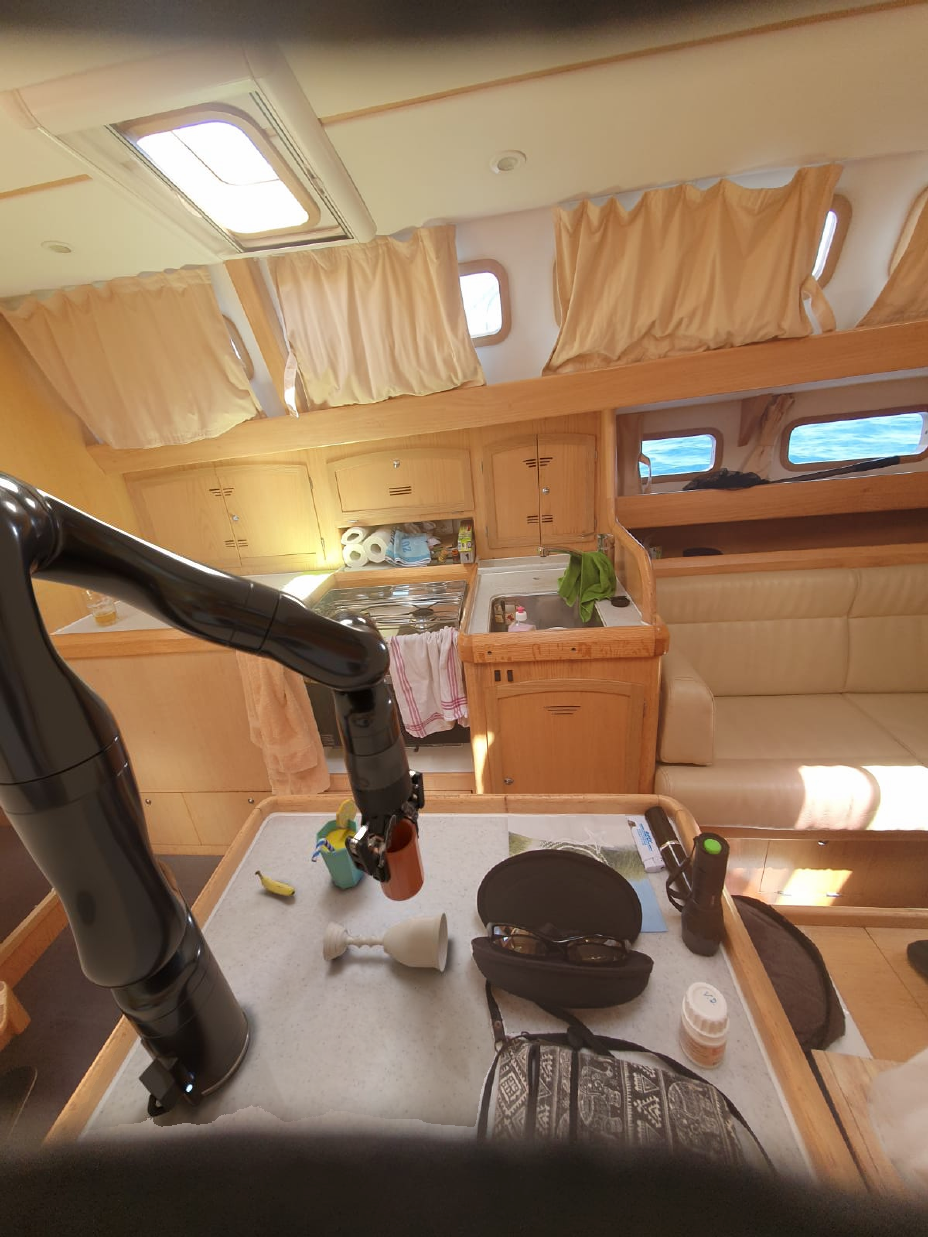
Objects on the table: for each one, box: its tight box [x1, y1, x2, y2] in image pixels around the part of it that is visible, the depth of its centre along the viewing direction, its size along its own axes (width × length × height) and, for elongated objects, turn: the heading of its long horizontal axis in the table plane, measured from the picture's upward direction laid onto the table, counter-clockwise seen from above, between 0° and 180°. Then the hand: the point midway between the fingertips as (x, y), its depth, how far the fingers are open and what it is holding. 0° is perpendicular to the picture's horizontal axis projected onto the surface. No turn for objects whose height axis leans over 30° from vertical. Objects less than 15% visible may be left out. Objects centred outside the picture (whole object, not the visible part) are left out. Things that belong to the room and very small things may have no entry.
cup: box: [311, 798, 363, 890], centre depth 79 cm, size 14×8×15 cm, turn 173°
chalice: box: [322, 912, 449, 972], centre depth 69 cm, size 7×7×18 cm
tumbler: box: [374, 818, 425, 902], centre depth 63 cm, size 6×6×9 cm
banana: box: [254, 870, 296, 897], centre depth 80 cm, size 8×2×4 cm, turn 69°
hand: (398, 857), depth 63 cm, fingers closed on tumbler, 6 cm apart
